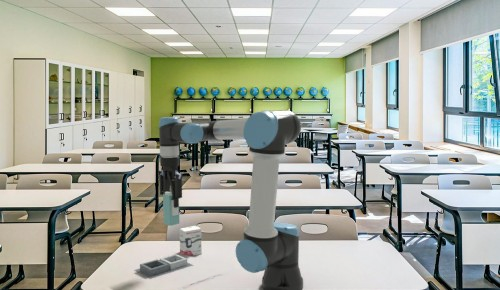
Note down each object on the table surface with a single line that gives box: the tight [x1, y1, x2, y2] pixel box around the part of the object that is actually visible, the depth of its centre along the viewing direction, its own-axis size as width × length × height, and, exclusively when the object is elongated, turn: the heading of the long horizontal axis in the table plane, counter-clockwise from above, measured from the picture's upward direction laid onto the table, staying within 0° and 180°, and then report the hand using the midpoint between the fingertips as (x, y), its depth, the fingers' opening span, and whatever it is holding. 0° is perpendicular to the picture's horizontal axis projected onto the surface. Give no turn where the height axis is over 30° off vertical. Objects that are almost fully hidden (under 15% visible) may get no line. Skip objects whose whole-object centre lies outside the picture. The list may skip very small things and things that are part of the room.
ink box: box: [178, 225, 203, 257], centre depth 203 cm, size 8×5×12 cm, turn 123°
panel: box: [134, 253, 194, 280], centre depth 185 cm, size 12×20×4 cm, turn 134°
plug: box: [162, 191, 180, 227], centre depth 185 cm, size 4×4×13 cm
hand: (171, 213), depth 185 cm, fingers closed on plug, 4 cm apart
